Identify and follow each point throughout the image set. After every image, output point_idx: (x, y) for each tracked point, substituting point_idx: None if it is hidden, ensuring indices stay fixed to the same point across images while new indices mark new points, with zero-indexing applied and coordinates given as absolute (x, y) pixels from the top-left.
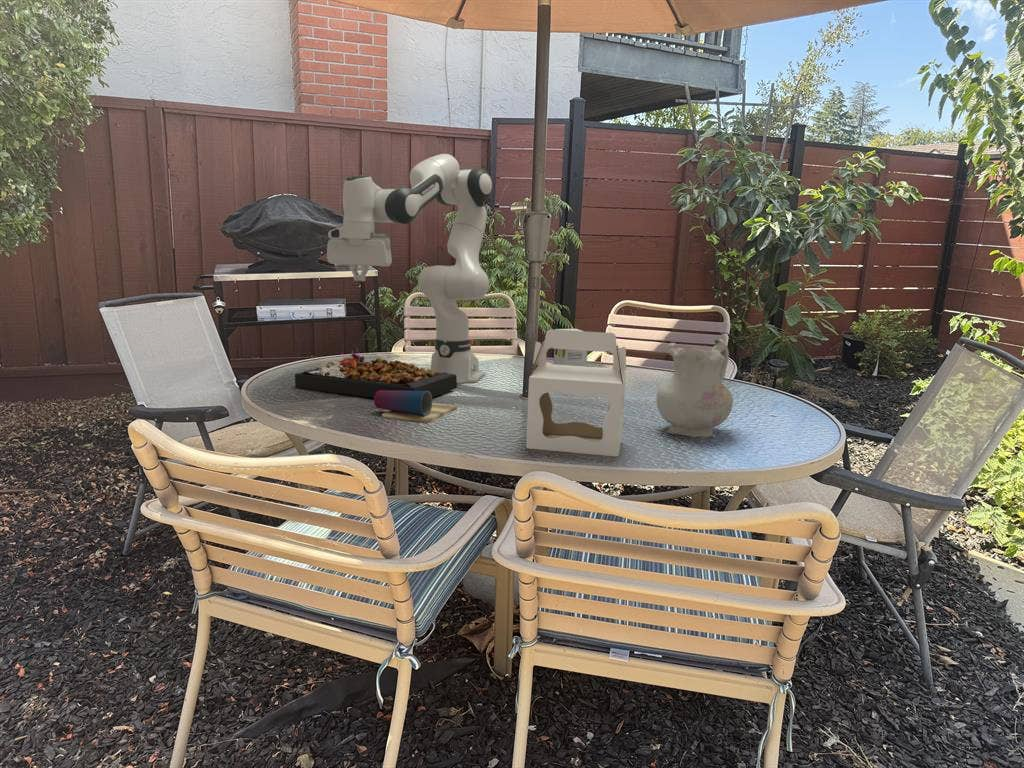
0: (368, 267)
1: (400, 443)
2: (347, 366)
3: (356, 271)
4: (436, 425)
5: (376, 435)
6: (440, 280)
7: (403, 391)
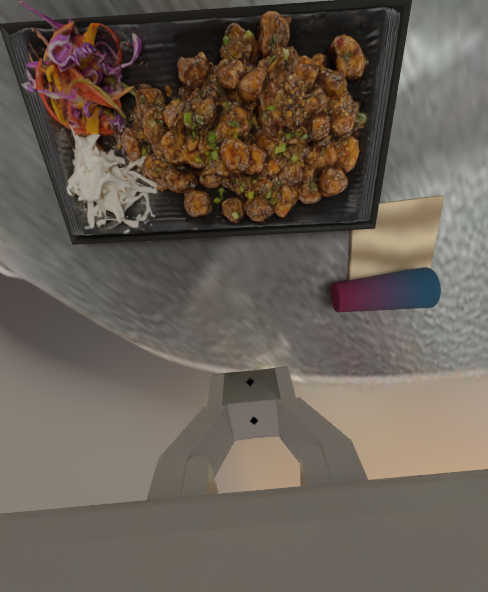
0: (358, 463)
1: (420, 374)
2: (92, 112)
3: (212, 442)
4: None
5: (381, 367)
6: None
7: (393, 302)
